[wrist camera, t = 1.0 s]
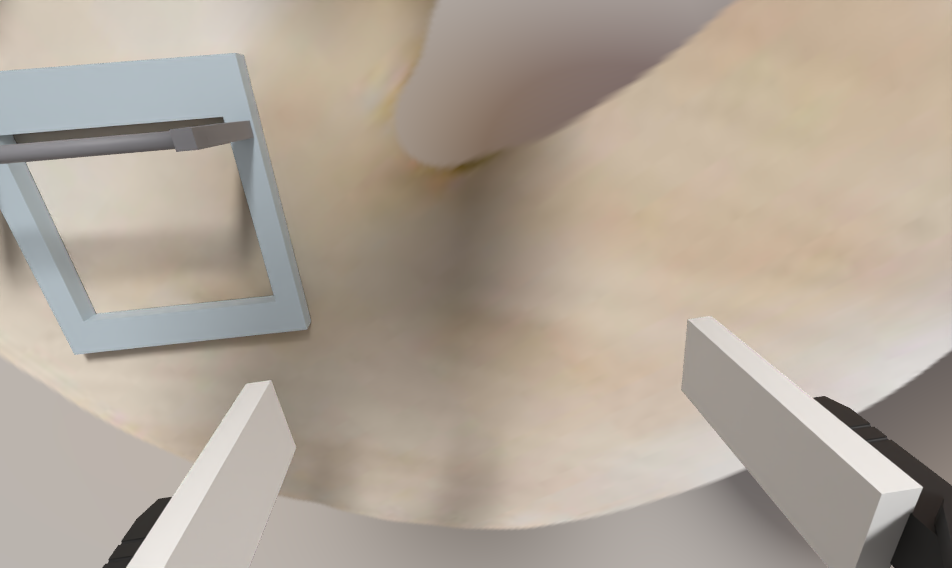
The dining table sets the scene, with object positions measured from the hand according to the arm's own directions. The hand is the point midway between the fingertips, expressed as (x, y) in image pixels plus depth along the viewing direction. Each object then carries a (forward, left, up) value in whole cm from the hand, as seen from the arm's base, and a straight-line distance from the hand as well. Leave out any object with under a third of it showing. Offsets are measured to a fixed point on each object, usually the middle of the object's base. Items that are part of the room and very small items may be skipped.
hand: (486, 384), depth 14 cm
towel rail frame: (-1, -24, -26) cm, 35 cm away
